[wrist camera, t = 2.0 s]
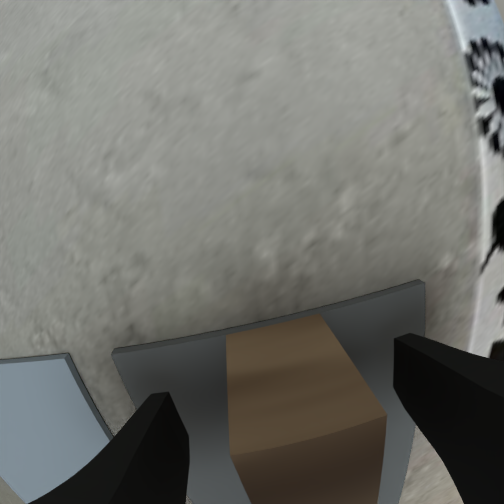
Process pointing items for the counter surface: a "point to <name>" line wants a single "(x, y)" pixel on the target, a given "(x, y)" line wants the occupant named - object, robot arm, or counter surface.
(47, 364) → the slate mat
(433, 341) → the robot arm
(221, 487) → the charcoal mat
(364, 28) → the counter surface
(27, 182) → the counter surface
